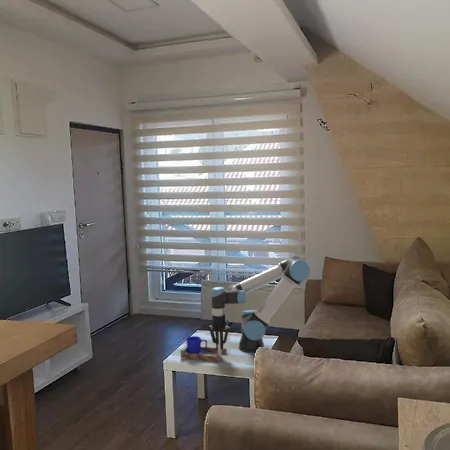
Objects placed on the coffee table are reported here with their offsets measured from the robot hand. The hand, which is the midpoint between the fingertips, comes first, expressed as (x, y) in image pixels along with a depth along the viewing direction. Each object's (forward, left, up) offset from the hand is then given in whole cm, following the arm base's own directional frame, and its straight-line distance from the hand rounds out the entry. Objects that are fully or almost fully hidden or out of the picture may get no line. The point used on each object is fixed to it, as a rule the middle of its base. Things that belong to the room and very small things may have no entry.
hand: (219, 354), depth 271 cm
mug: (+14, +1, -1) cm, 14 cm away
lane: (+9, 0, -1) cm, 9 cm away
